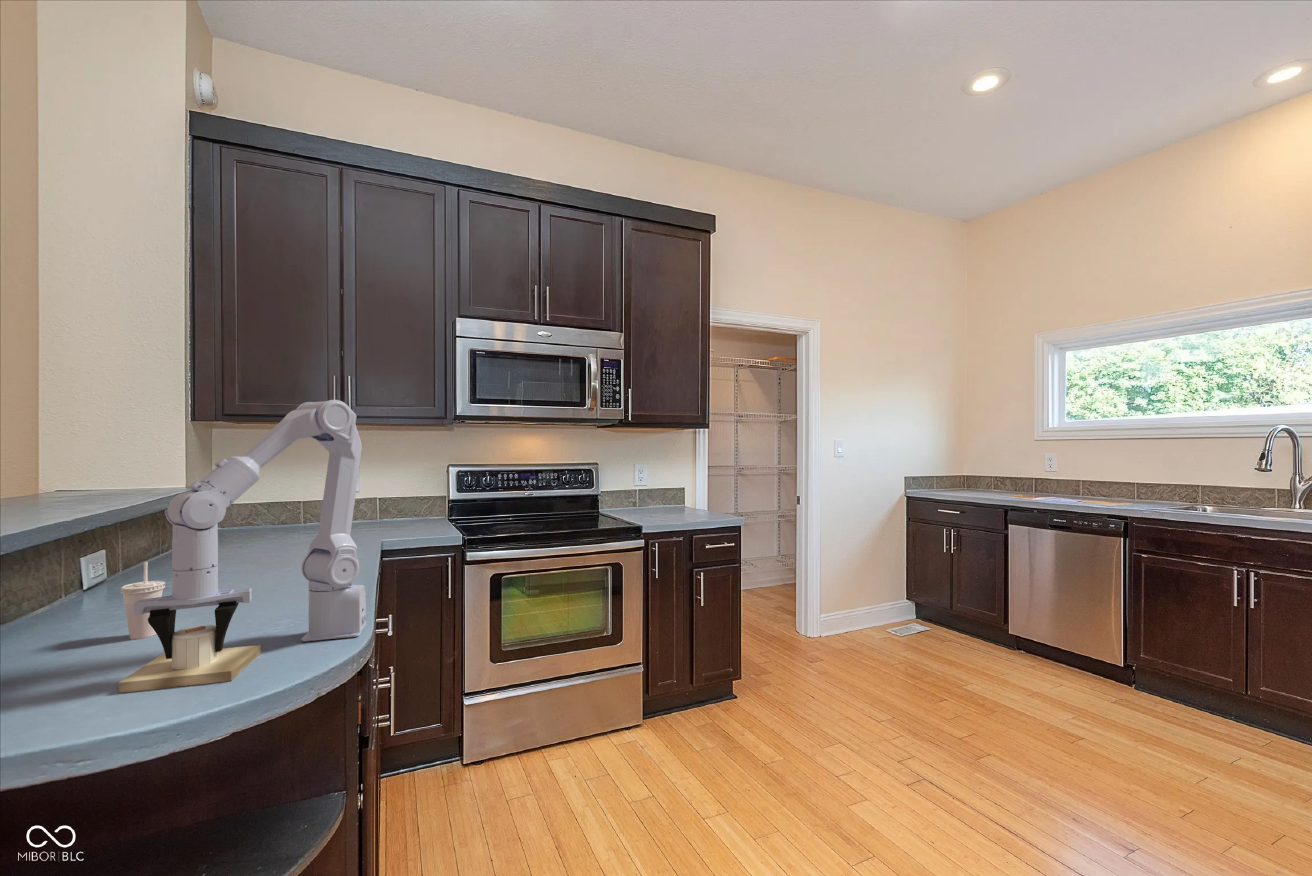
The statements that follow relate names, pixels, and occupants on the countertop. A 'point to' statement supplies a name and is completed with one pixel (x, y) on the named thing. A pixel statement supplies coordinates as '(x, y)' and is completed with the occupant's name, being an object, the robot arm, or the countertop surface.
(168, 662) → the post board
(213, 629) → the cream short cylinder
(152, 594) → the smoothie
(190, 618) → the countertop surface
